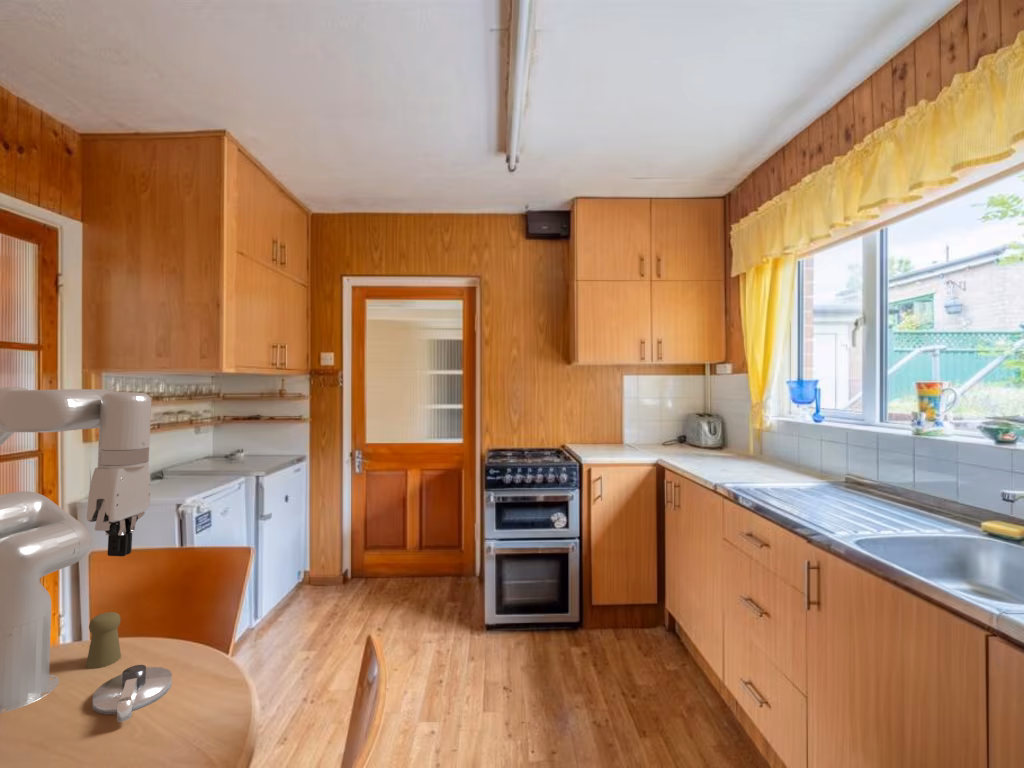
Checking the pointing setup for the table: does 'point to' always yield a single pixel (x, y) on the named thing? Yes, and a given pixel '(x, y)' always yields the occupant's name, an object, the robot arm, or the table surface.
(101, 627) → the olive pepper mill
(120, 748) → the table surface
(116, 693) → the dial
